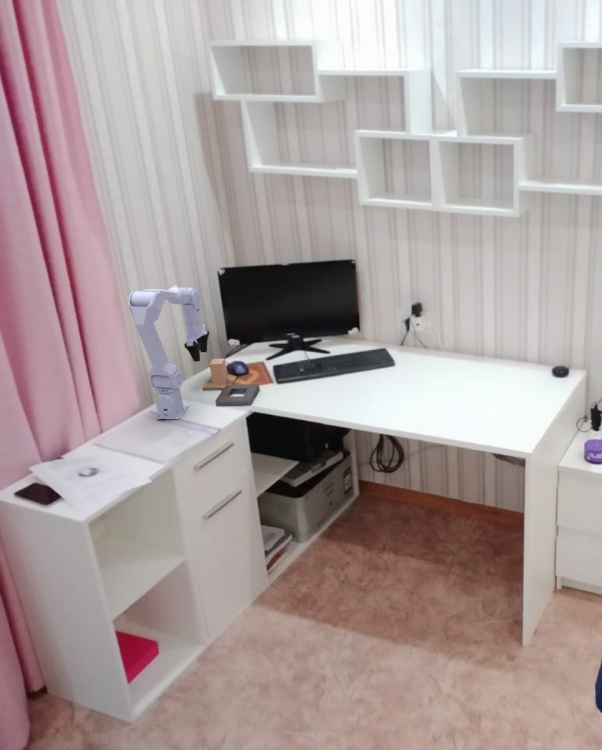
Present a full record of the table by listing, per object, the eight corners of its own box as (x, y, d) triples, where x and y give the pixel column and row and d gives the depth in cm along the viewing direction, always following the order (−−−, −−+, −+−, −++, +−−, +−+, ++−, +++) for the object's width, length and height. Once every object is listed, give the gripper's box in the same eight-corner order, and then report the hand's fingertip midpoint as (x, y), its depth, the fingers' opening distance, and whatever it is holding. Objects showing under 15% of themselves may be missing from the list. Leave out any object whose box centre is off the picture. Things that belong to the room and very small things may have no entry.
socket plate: (250, 405, 292) (249, 400, 291) (216, 406, 295) (215, 400, 294) (259, 389, 302) (258, 384, 301) (226, 390, 305) (226, 384, 304)
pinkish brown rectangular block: (225, 384, 308) (221, 363, 305) (213, 384, 309) (209, 364, 306) (228, 378, 312) (224, 358, 308) (216, 379, 313) (212, 358, 309)
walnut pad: (229, 390, 305) (229, 387, 305) (202, 390, 308) (202, 388, 307) (237, 377, 314) (237, 375, 313) (211, 377, 316) (211, 375, 316)
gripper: (197, 328, 296) (204, 364, 301) (210, 312, 308) (217, 347, 314) (177, 329, 298) (185, 365, 303) (192, 313, 310) (199, 348, 316)
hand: (200, 356), depth 309 cm, fingers open, 7 cm apart
